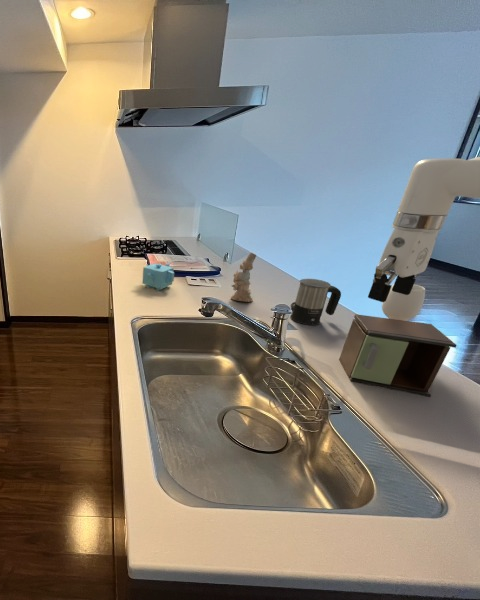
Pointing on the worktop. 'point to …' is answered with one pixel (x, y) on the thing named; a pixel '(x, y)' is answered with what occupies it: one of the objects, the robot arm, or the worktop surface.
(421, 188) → the robot arm
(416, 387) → the cupboard
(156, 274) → the teapot
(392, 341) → the sliding door
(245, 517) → the worktop surface
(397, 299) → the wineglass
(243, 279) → the figurine
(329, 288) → the milk frother
